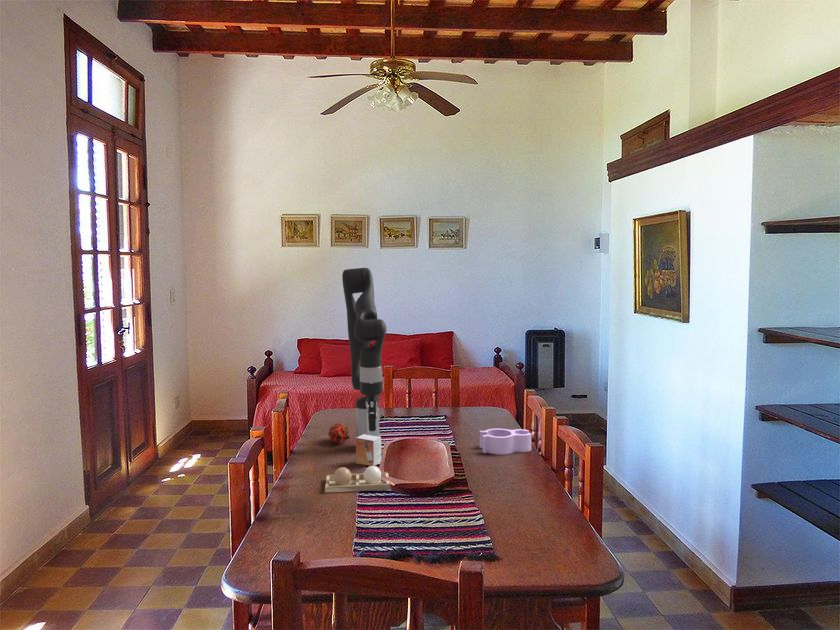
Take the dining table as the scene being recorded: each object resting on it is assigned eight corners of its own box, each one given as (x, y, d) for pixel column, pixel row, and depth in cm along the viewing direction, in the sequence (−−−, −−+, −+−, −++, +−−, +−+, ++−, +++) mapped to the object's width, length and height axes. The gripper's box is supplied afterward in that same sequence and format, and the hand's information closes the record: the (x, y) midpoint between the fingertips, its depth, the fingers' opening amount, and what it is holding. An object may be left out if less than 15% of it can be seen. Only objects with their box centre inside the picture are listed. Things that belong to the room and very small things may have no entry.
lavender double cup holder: (525, 443, 234) (526, 427, 234) (534, 453, 222) (534, 436, 221) (478, 445, 233) (478, 429, 232) (484, 455, 220) (484, 438, 220)
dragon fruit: (340, 440, 245) (341, 453, 233) (324, 431, 242) (324, 443, 231) (351, 425, 244) (353, 437, 232) (335, 415, 242) (336, 427, 230)
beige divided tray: (327, 482, 194) (327, 475, 194) (388, 479, 197) (388, 472, 196) (325, 494, 183) (325, 487, 183) (389, 491, 186) (389, 484, 185)
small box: (355, 465, 211) (355, 437, 210) (363, 460, 216) (363, 433, 215) (373, 468, 207) (373, 440, 206) (381, 463, 212) (381, 436, 211)
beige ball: (334, 482, 192) (333, 465, 192) (351, 481, 193) (351, 464, 192) (333, 489, 186) (332, 471, 186) (351, 488, 187) (351, 470, 186)
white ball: (363, 480, 193) (363, 463, 193) (381, 479, 194) (381, 462, 193) (363, 487, 187) (363, 470, 187) (381, 486, 188) (381, 469, 187)
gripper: (359, 375, 194) (360, 421, 195) (359, 384, 180) (360, 434, 181) (381, 374, 195) (382, 420, 196) (383, 383, 180) (384, 433, 182)
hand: (372, 427), depth 189 cm, fingers open, 8 cm apart
